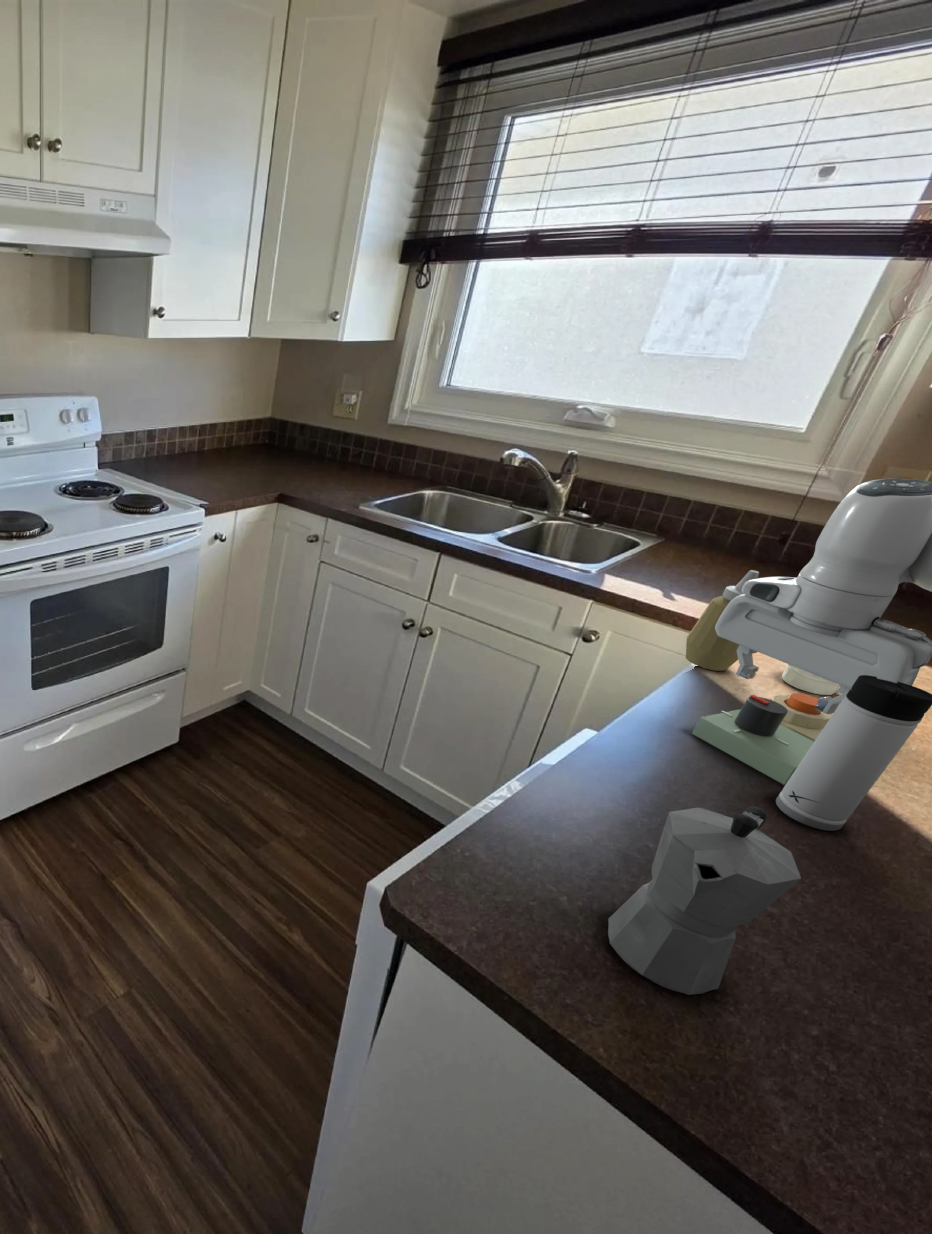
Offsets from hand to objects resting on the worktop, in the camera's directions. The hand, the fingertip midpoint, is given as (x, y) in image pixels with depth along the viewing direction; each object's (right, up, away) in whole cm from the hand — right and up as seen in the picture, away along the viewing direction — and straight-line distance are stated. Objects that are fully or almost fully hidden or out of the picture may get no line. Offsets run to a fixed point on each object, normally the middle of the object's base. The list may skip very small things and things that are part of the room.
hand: (782, 693), depth 95 cm
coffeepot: (-40, -23, -27) cm, 53 cm away
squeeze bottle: (+14, +3, +27) cm, 31 cm away
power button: (+11, -3, +8) cm, 14 cm away
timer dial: (0, -5, +4) cm, 7 cm away
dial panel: (0, -9, +3) cm, 10 cm away
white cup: (+26, -1, +22) cm, 34 cm away
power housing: (+11, -7, +9) cm, 16 cm away
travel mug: (-5, -15, -8) cm, 18 cm away
